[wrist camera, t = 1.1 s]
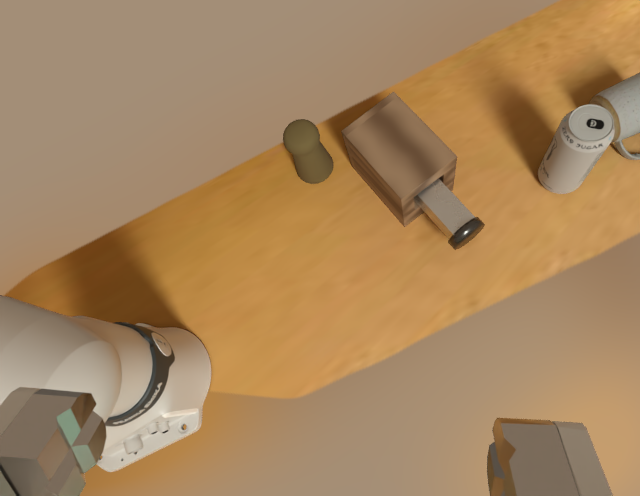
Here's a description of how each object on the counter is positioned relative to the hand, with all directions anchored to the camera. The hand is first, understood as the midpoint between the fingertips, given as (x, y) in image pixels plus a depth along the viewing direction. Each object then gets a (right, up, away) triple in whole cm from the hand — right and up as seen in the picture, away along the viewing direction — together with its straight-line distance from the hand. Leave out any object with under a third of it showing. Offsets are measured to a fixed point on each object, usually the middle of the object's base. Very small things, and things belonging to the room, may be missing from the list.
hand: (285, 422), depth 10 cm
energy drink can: (+35, +14, +62) cm, 73 cm away
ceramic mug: (+45, +21, +63) cm, 80 cm away
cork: (0, +17, +71) cm, 72 cm away
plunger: (+17, +9, +61) cm, 64 cm away
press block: (+13, +14, +67) cm, 69 cm away
